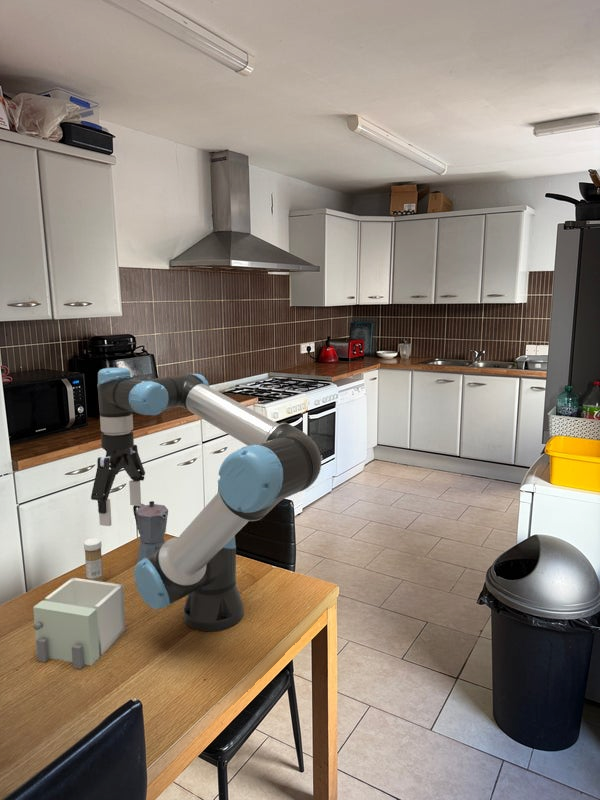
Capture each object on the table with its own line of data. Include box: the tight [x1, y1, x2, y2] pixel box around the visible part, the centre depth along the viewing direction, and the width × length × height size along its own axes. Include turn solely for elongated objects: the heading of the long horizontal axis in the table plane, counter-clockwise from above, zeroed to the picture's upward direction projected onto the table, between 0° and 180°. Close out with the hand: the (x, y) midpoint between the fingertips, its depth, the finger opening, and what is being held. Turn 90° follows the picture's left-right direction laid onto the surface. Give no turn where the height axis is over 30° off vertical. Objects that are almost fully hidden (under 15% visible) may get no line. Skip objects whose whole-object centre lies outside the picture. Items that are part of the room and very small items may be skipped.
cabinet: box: [35, 577, 127, 670], centre depth 129 cm, size 14×15×12 cm
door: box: [32, 599, 100, 667], centre depth 124 cm, size 14×4×12 cm, turn 76°
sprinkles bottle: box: [83, 537, 104, 582], centre depth 156 cm, size 5×5×14 cm
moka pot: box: [132, 500, 169, 563], centre depth 169 cm, size 10×15×20 cm, turn 58°
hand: (121, 514), depth 139 cm, fingers open, 13 cm apart
